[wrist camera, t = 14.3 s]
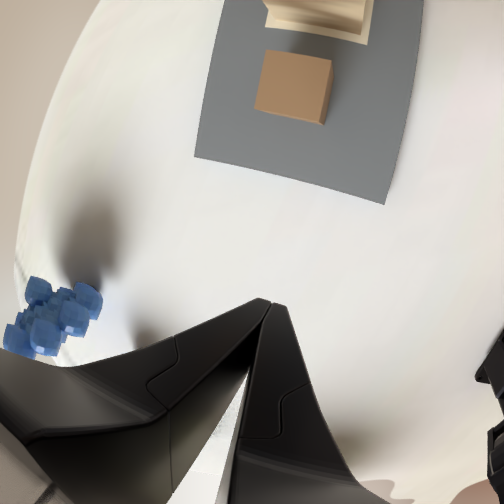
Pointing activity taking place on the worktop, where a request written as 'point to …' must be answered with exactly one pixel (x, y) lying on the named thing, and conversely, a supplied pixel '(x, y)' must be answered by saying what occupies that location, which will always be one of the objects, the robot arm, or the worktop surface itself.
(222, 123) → the board
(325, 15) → the maple block
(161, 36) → the worktop surface
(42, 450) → the robot arm
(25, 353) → the grapes
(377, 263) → the worktop surface
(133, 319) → the worktop surface
